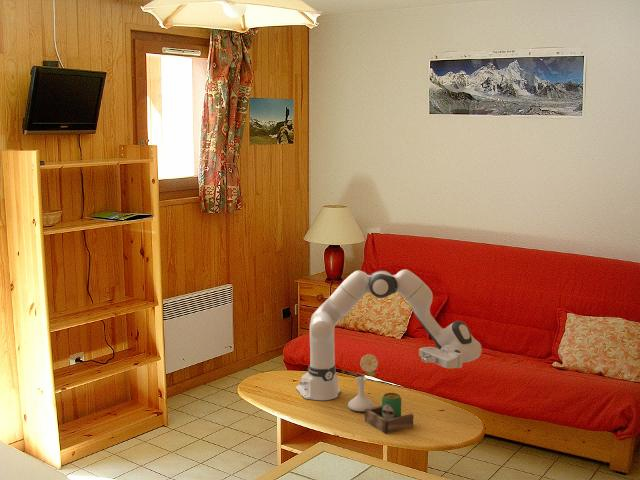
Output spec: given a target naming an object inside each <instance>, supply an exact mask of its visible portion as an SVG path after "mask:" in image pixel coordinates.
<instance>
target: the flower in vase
mask: <svg viewBox="0 0 640 480" xmlns="http://www.w3.org/2000/svg"><path fill="white" fill-rule="evenodd" d="M378 364H379V360H377V357H376V356H375V355H374V354H371V353H367V354H365V355H363V356H362V357H361V359H360V361H359V366H360V367H361V368H362V371H364V374H362V373H360V372H357V371H355V373H356V374H358V375H361V376H357V377H355V378H354V379H355V380H356V382H357V387H358V389H357V390H358V391H357V392H358V393H357V394H356V396H355V397H353V398H352V399H350V400H349V401H348V404H347V407H348V408H349V409H350V410H352V411H354V412H355V411H357V412H365V409H369V408H374V407H375V403H374V402H373V401H372V400H371V399H370V398H368V397H367V395H365V393H364V387H365V383H366V381H367V380H368V378H367V377H365V375H366V374H367V375H368V376H369V377H373V376H376V375H377V373H376V372H375V370H377V369H378Z"/></svg>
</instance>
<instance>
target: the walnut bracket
mask: <svg viewBox="0 0 640 480" xmlns="http://www.w3.org/2000/svg"><path fill="white" fill-rule="evenodd" d="M364 422H366V423H368V424H369V425H371V426H372V427H374V428H375V429H377V430H378V431H380V432H381V433H383V434H390V433H393V432H397V431H400V430H405V429H410V428H413V427H414V414H413V413H409V414H405V415H401V416H400V417H396V418H392V419H388V420H386V419H384V418H382V405H378V406H374V407H373V408H369V409H365V411H364Z"/></svg>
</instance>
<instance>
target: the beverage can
mask: <svg viewBox="0 0 640 480" xmlns="http://www.w3.org/2000/svg"><path fill="white" fill-rule="evenodd" d="M381 406H382V418H384V419H386V420H388V419H392V418H396V417H400V416H402V398H401V395H400V394H399V393H396V392H387V393H384V394H383V396H382V397H381Z"/></svg>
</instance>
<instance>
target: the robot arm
mask: <svg viewBox="0 0 640 480" xmlns="http://www.w3.org/2000/svg"><path fill="white" fill-rule="evenodd" d="M367 293H370V294H371V295H372V296H374V297H375V298H378V299H384V298H387V297H389V296H392V295H393V294H395V293H397V294H400V296H402V297H403V298H404V299H405V300H406V301H407V302H408V304H409V305H410V307H411V309H412V311H413V314H414V316H415V318H416V319H417V320H418V321H419V323H420V324H421V325H422V327H423V328H424V329H425V331H426V332H427V334H429V335H430V337H431V340H432V341H433V342H434V344H435V346H436V347H435V346H426V347H425V346H424V347H420V348H419V349H418V356H419V357H421V362H424V363H426V364H427V363H430V364H431V363H433V364H435V365H438V366H440V367H442V368H444V369H451V370H453V369H461V368H463V363H469V362H472V361H475V360H477V359H479V357H481V354H482V344H481V343H480V342H479V341H478V340H476V339H475V338H474V336H473V335H472V333H471V330H470V328H469V326H468V324H466V323H465V322H463V321H462V320H455V321H453V322H452V323H450V324H449V325H448V326H446V327H445V328H443V327H442V326H440V324H439V323H438V322H437V320H436V319H435V318H434V316H433V315H432V314H431V310H430V309H431V305H432V303H433V297H434V295H433V292H432V290H431V289H430V287H429V286H428V285H427V284H426V283H425V282H424V281H423V280H422V279H421V278H420V277H419V276H417V275H416V274H415V273H413V272H412V271H410V270H409V269H406V268H405V269H401V270H400V271H399V270H398V272H397V273H396V274H392V272H390V271H389V270H384V269H382V270H377V271H373V272H371V273H369V274H367V273H366V272H365V271H363V270H360V269H359V270H355V271H353V272H352V273H351V274H349V275H348V276H347V277H346V278H345V279H344V280H343V281H342V282H341V283H340V284H339V286H338V287H337V288H336V289H335V290H334V292H333V293H332V294H331V295H329V297H328V298H327V299H326V300H325V301H323V303H322V304H320V306H319V307H317V309H316V310H315V311H314V312H313V313H312V314H311V317H310V322H309V348H310V350H309V352H310V353H309V354H310V355H309V356H310V357H309V359H310V361H309V363H310V364H309V363H308V364H307V365H308V366H307V367H308V371H307V372H306V373H305V374H303V375H302V376H301V377H300V381H299V383H300V384H298V385H296V386H295V390H296V389H297V390H298V391H299V392H300V393H299V392H298V391H297V390H296V391H297V392H298V393H299V394H300V395H301V397H302V396H303V397H304V398H305V399H304V398H303V397H302V398H303V399H304V400H315V401H330V400H333V399H337V398H338V397H339V394H340V393H341V389H340V388H339V382H338V380H339V379H338V378H339V377H338V375H337V374H336V371H337V370H336V369H337V367H336V363H335V354H336V353H335V326H336V325H337V323H339V322H340V321H341V320H342V319H343V318H344V317H345V316H346V315H348V314H349V313H350V312H351V311H352V310H353V308H354V307H355V306H356V305H357V304H358V303H359V302H360V300H362V298H363V297H364V296H365V295H366V294H367Z"/></svg>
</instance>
